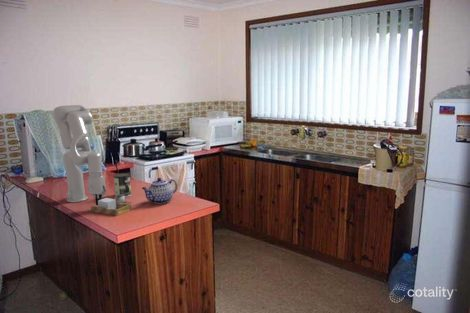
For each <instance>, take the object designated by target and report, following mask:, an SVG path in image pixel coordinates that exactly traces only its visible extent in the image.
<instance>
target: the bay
mask: <svg viewBox="0 0 470 313" xmlns="http://www.w3.org/2000/svg"><path fill="white" fill-rule="evenodd" d="M89 207H90V212H91V213H98V214H104V215H111V216H117V217H118V216H120V215H123V214H124V213H125V214H126V213H127V212H129V211H132V203H129V204H123V203H116V209H109V208H102V207H98V206H97V205H95V206H94V205H91V206H89Z"/></svg>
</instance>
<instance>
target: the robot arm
mask: <svg viewBox="0 0 470 313" xmlns="http://www.w3.org/2000/svg"><path fill="white" fill-rule="evenodd" d="M52 114H53V115H52V116H53V120H54V122H55V124H56V126H57V128H58V130H59V131H58V132H59V135H60V136H59V137H60V140H61V144H62V146H63V147H62V148H64V149H65V150H69V151H67V152H64V153H63V155H62V162H63V165H64V169H65V174H66V182H67V192H66V193H65V196H66V197H67V198H66V201H67V203H79V202H84V201H86V200H88V198H89V196H88V195H86V192H85V184H84V174H83V173H84V172H83V170H82V169H81V168H80V167H81V166H87V168H88V169H87V170H88V177H87V192H88V193H89V194H91V195H92V196H93V198H94V200H95V206H98V200H101V199H103V197H104V196H106V192H107V188H106V187H107V186H106V181H105V177H104V174H103V164H102V162H103V160H102V155H101V153H100V152H96V151H94V150H92V148H91V143H90V139H89V137H88V136H89V133H88V130H87V127H86V126H87V125H91V124H92V123H93V119H94V118H93V115H92V113H91V112H90V111H89V110H88V109H87V108H85V107H84V106H83V105H80V104H75V105H74V104H73V105H72V104H71V105H59V106H56V107H54V109H53V111H52ZM77 149H78V150H77ZM79 166H80V167H79Z"/></svg>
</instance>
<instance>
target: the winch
mask: <svg viewBox="0 0 470 313" xmlns="http://www.w3.org/2000/svg"><path fill="white" fill-rule="evenodd" d="M114 199H115V200H116V203H123V204H132V202H131V201H127V200H126V197H125V196H124V195H123V196H121V197H117V196H114Z"/></svg>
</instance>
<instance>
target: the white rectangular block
mask: <svg viewBox="0 0 470 313" xmlns="http://www.w3.org/2000/svg"><path fill="white" fill-rule="evenodd" d="M97 207H102V208H109V209H116V210H117V208H116V200H115V198H110V197H105V198H101V200H98V205H97Z"/></svg>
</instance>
